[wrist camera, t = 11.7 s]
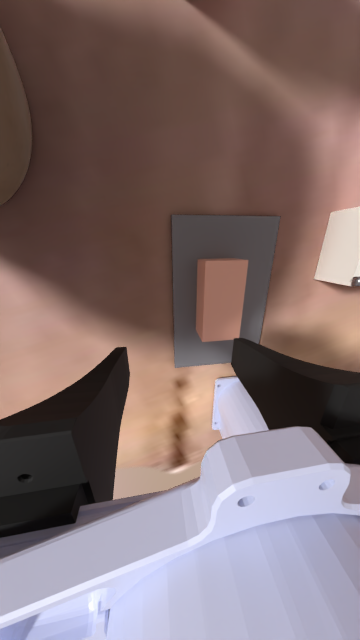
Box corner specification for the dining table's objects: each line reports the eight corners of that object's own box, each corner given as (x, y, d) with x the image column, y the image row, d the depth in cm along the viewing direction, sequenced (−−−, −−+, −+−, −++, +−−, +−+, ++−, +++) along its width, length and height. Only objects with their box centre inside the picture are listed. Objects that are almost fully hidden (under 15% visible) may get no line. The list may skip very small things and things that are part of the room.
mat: (254, 358, 25) (256, 359, 25) (174, 366, 24) (175, 367, 23) (278, 216, 19) (280, 216, 19) (171, 215, 18) (171, 214, 17)
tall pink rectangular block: (228, 327, 22) (239, 339, 20) (195, 330, 22) (202, 342, 19) (234, 258, 19) (248, 260, 17) (197, 258, 19) (205, 261, 16)
